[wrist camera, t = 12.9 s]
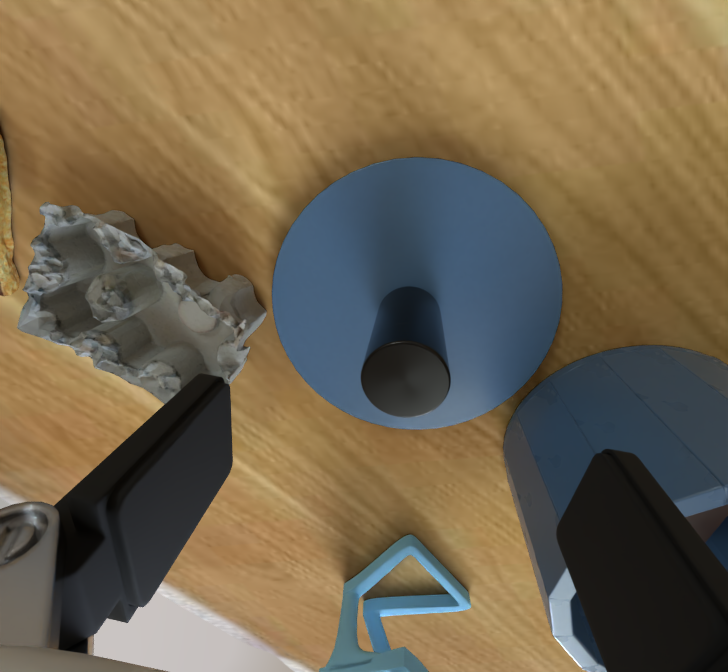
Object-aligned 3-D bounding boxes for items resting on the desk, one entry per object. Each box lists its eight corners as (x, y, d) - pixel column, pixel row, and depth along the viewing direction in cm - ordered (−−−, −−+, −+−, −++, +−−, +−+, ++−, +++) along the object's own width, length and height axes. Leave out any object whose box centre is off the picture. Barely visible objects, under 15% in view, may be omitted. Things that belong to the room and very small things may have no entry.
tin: (545, 324, 18) (641, 442, 10) (818, 370, 17) (1147, 535, 9) (478, 502, 23) (507, 665, 16) (682, 543, 22) (819, 737, 15)
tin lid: (282, 137, 16) (192, 117, 10) (603, 181, 15) (741, 192, 9) (276, 394, 22) (218, 488, 15) (505, 437, 21) (544, 555, 15)
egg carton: (284, 295, 19) (253, 326, 15) (233, 392, 22) (197, 437, 19) (94, 182, 18) (10, 186, 14) (69, 303, 21) (-5, 332, 17)
